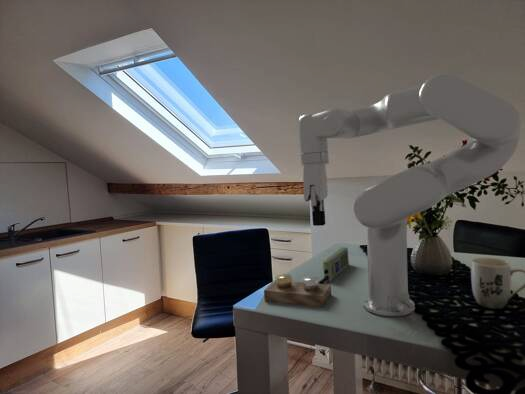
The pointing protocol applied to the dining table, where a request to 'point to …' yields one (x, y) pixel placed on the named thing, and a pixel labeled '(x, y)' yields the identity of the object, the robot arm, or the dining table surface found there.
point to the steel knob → (311, 283)
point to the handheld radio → (335, 264)
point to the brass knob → (284, 281)
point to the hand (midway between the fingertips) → (319, 224)
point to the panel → (298, 294)
